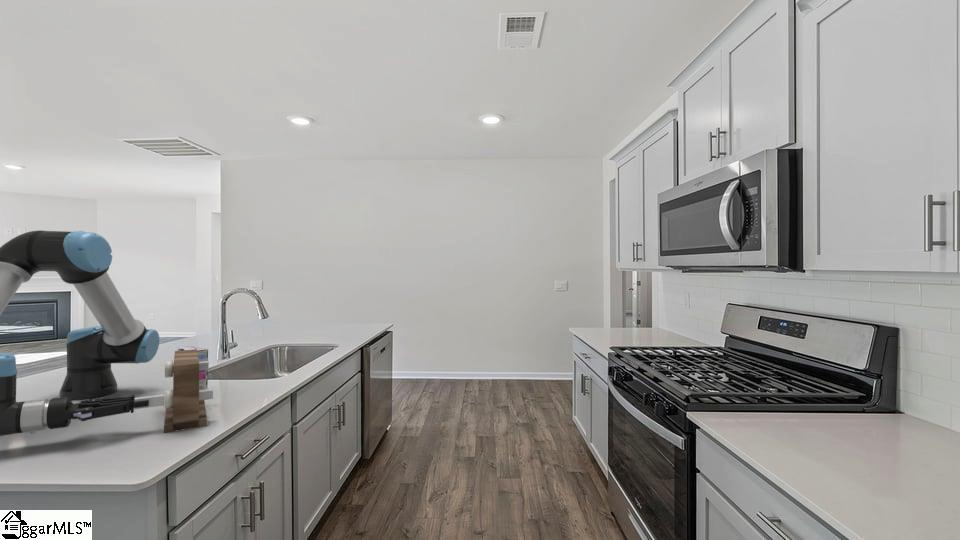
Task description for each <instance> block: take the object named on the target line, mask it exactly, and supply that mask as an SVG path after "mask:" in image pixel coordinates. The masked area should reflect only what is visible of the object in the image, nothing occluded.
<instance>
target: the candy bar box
mask: <svg viewBox="0 0 960 540" xmlns="http://www.w3.org/2000/svg"><path fill="white" fill-rule="evenodd" d="M194 349H197V352H198V359H199V362H202V361H208V362H209V360H208V359H209V349H208V348H207V349H206V348H203V347H202V348H201V347H197V346H184V347H178V348H177V351H181V350H194ZM208 372H209V370H202V371H199V390H204V389H208V379H209V377H208V375H209V374H208Z"/></svg>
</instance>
